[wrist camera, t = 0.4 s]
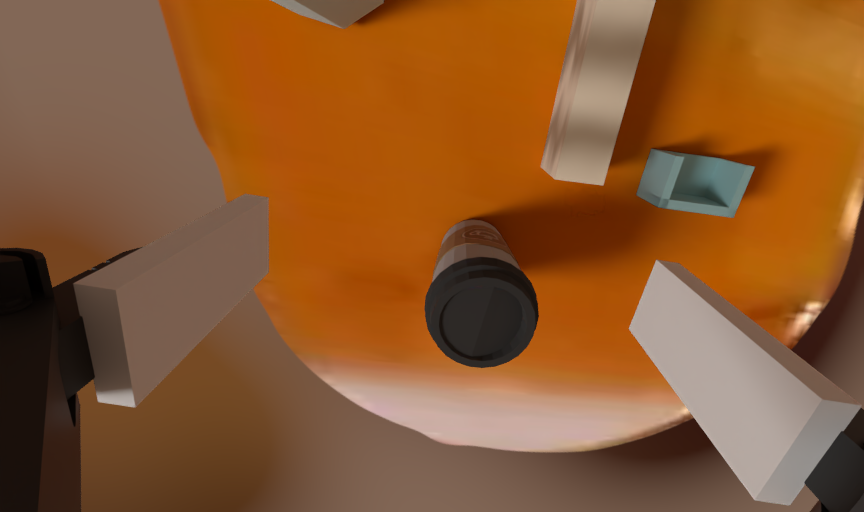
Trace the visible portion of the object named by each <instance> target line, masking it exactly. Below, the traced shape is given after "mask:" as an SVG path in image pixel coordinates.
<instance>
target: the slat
mask: <svg viewBox="0 0 864 512" xmlns="http://www.w3.org/2000/svg"><path fill="white" fill-rule="evenodd" d="M655 2H656V0H577V4H576V9H575V13H574V18H573V22H572V27H571V32H570V36H569V41H568V45H567V50H566V54H565V59H564V63H563V68H562V72H561V77H560V81H559V86H558V90H557V95H556V99H555V104H554V108H553V113H552V118H551V122H550V127H549V131H548V136H547V140H546V145H545V149H544V154H543V158H542V163H541V168H542V169H544V170H545V171H546V172H547V173H548V174H549V175H551V176H552V177H553V178H554V179H556V180H564V181H572V182H579V183H587V184H595V185H604V181H605V177H606V174H607V170H608V167H609V163H610V160H611V156H612V153H613V149H614V146H615V142H616V139H617V135H618V132H619V128H620V125H621V121H622V118H623V114H624V111H625V107H626V104H627V100H628V97H629V93H630V90H631V86H632V83H633V79H634V76H635V72H636V68H637V65H638V61H639V58H640V54H641V51H642V47H643V44H644V40H645V37H646V33H647V30H648V26H649V23H650V19H651V16H652V12H653V9H654V5H655Z"/></svg>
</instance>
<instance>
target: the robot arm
mask: <svg viewBox="0 0 864 512" xmlns="http://www.w3.org/2000/svg"><path fill="white" fill-rule="evenodd" d="M268 272H269V230H268V197H261V196H255V195H249V194H244V195H242V196H240V197H238V198H237V199H235V200H233V201H231V202H229V203H227V204H225V205H223V206H221V207H219V208H217V209H215V210H214V211H212V212H210V213H208V214H206V215H204V216H202V217H200V218H198V219H196V220H194V221H192V222H190V223H189V224H186V225H185V226H183V227H181V228H179V229H177V230H175V231H173V232H171V233H169V234H167V235H165V236H163V237H161V238H160V239H158V240H156V241H154V242H152V243H150V244H148V245H146V246H144V247H141V248H137V249H133V250H129V251H126V252H123V253H121V254H119V255H117V256H115V257H113V258H111V259H109V260H107V261H106V263H101V264H99V265H97V266H95V267H93V268H92V270H87V271H85V272H83V273H81V274H79V275H77V276H75V277H73V278H71V279H69V280H67V281H65V282H63V283H61V284H59V285H57V286H55V287H53V288H52V285H51V281H50V276H49V272H48V268H47V264H46V259H45V257H44V255H43V254H42V253H41V252H38V251H35V250H32V249H22V248H0V512H81V449H80V404H79V399H78V395H77V392H78V391H79V390H80V389H81V388H83V387H84V386H85V385H86V384H88V382H90V381H91V380H92V379H93V380H94V384H95V389H96V394H97V398H98V402H103V403H110V404H116V405H123V406H130V407H136V406H137V405H138V404H139V403H140V402H141V401H142V400H143V399H144V398H145V397H146V396H147V395H148V394H149V393H150V392H151V391H152V390H153V389H154V388H155V387H156V386H157V385H158V384H159V383H160V382H161V381H162V380H163V379H164V378H165V377H166V376H167V375H168V374H169V373H170V371H172V370H173V369H174V368H175V367H176V366H177V365H178V364H179V363H180V362H181V360H183V359H184V358H185V356H187V355H188V354H189V353H190V351H191V350H193V348H194V347H195V346H196V345H197V344H198V343H199V342H200V341H201V340H202V339H203V338H204V337H205V336H206V335H207V334H208V333H209V332H210V331H211V330H212V329H213V328H214V327H215V326H216V325H217V324H218V323H219V322H220V321H221V320H222V319H223V318H224V317H225V316H226V315H227V314H228V313H229V312H230V311H231V310H232V309H233V308H234V307H235V306H236V305H237V304H238V303H239V302H240V301H241V300H242V299H243V298H244V297H245V296H246V295H247V294H248V292H250V291H251V290H252V289H253V288H254V287H255V286H256V285H257V284H258V283H259V282H260V281H261V280H262V278H263V277H264V276H265V275H266V274H267V273H268ZM629 330H630V331H631V332H632V334H633V335H634V336H635V338H636V339H637V341H638V342H639V343H640V345H641V346H642V347H643V349H644V350H645V351H646V353H647V354H648V356H649V357H650V358H651V360H652V361H653V362H654V364H655V365H656V366H657V368H658V369H659V371H660V372H661V373H662V375H663V376H664V377H665V379H666V380H667V381H668V383H669V384H670V386H671V387H672V388H673V390H674V391H675V392H676V394H677V395H678V396H679V398H680V399H681V401H682V402H683V403H684V405H685V406H686V407H687V409H688V410H689V411H690V413H691V414H692V416H693V417H694V418H695V419H696V421H697V422H698V424H699V425H700V426H701V428H702V429H703V430H704V432H705V433H706V435H707V436H708V437H709V439H710V440H711V441H712V443H713V444H714V445H715V447H716V448H717V449H718V451H719V452H720V454H721V455H722V456H723V458H724V459H725V460H726V462H727V463H728V465H729V466H730V467H731V468H732V470H733V471H734V473H735V474H736V475H737V477H738V478H739V479H740V481H741V482H742V484H743V485H744V486H745V488H746V489H747V490H748V492H749V493H750V495H751V496H752V497H753V499H754V500H758V501H764V502H770V503H777V504H784V505H790V504H791V503H792V502H793V500H794V499H795V497H796V496H797V495H798V493H799V492H800V491H801V489H802V488H803V486H804V485H805V484H806V486H807V487H808V488H809V489H810V490H811V491H812V492H813V493H814V494H815V496H816V497H817V498H818V499H819V501H818V502H817V503H816V505H815V506H814V507H813V508H812V510H811V511H810V512H864V410H863V409H862V408H861V407H862V405H861V404H859V403H858V402H857V401H856V400H854V399H853V398H852V397H850V396H849V395H848V394H846V393H845V392H844V391H843V390H841V389H840V388H839V387H837V386H836V385H835V384H833V383H832V382H831V381H830V380H828V379H827V378H826V377H824V376H823V375H822V374H821V373H819V372H818V371H817V370H816V369H814V368H813V367H812V366H810V365H809V364H808V363H806V362H805V361H804V360H803V359H801V358H800V357H799V356H797V355H796V354H795V353H794V352H792V351H791V350H790V349H788V348H787V347H786V346H785V345H783V344H782V343H781V342H779V341H778V340H777V339H776V338H774V337H773V336H772V335H770V334H769V333H768V332H767V331H765V330H764V329H763V328H761V327H760V326H759V325H758V324H756V323H755V322H754V321H752V320H751V319H750V318H749V317H747V316H746V315H745V314H743V313H742V312H741V311H740V310H738V309H737V308H736V307H734V306H733V305H732V304H730V303H729V302H728V301H727V300H725V299H724V298H723V297H721V296H720V295H719V294H718V293H716V292H715V291H714V290H712V289H711V288H710V287H709V286H707V285H706V284H705V283H703V282H702V281H701V280H700V279H698V278H697V277H696V276H694V275H693V274H692V273H691V272H689V271H688V270H687V269H685V268H684V267H683V266H682V265H680V264H679V263H674V262H667V261H661V260H656V262H655V265H654V267H653V270H652V272H651V275H650V277H649V280H648V282H647V285H646V287H645V290H644V292H643V295H642V297H641V300H640V302H639V305H638V307H637V310H636V312H635V315H634V317H633V320H632V322H631V325H630V327H629Z"/></svg>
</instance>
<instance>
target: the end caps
mask: <svg viewBox="0 0 864 512" xmlns="http://www.w3.org/2000/svg"><path fill="white" fill-rule="evenodd" d="M754 168H755V167H754V166H750V165H746V164H742V163H738V162H734V161H730V160H726V159H722V158H716V157H708V156H701V155H694V154H687V153H679V152H672V151H665V150H658V149H651V151H650V154H649V157H648V160H647V163H646V166H645V169H644V172H643V175H642V178H641V181H640V185H639V188H638V191H637V194H636V195H637V196H639V197H641V198H642V199H644V200H646V201H648V202H649V203H651V204H653V205H655V206H656V207H659V208H666V209H673V210H681V211H688V212H695V213H702V214H710V215H717V216H724V217H732V218H733V217H734V215H735V213H736V210H737V208H738V206H739V203H740V201H741V199H742V196H743V194H744V192H745V189H746V187H747V185H748V182H749V180H750V178H751V175H752V173H753V171H754Z"/></svg>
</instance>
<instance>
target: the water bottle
mask: <svg viewBox="0 0 864 512" xmlns="http://www.w3.org/2000/svg"><path fill="white" fill-rule="evenodd" d="M271 1H273V2H275V3H277V4H279V5H281V6H283V7H285V8H287V9H289V10H291V11H293V12H295V13H297V14H299V15H302V16H306V17H309V18H312V19H315V20H318V21H321V22H324V23H327V24H330V25H334V26H337V27H340V28H343V29H345V28H347V27H348V26H350V25H351V24H353V23H354V22H356V21H357V20H359V19H360V18H362V17H363V16H365V15H366V14H368V13H369V12H371V11H372V10H374V9H375V8H377V7H378V6H380V5H381V4H383V3H384V0H271Z"/></svg>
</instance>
